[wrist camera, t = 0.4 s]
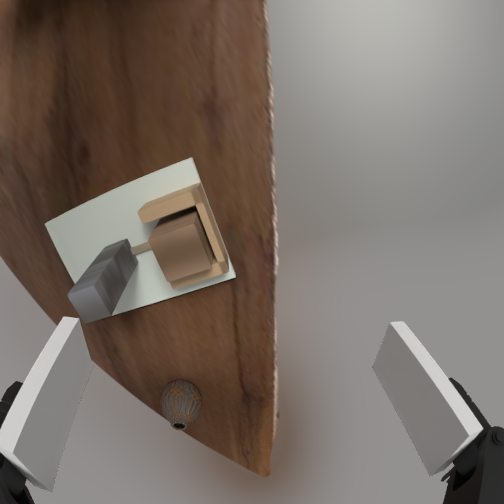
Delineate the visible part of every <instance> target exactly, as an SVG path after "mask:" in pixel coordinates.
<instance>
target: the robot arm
mask: <svg viewBox="0 0 504 504" xmlns="http://www.w3.org/2000/svg"><path fill="white" fill-rule="evenodd" d="M372 368H373V370H374V372H375V374H376V376H377V377H378V379H379V381H380V383H381V384H382V386H383V388H384V390H385V392H386V393H387V395H388V397H389V399H390V401H391V403H392V404H393V406H394V408H395V410H396V412H397V414H398V416H399V417H400V419H401V421H402V423H403V425H404V427H405V429H406V431H407V433H408V434H409V436H410V438H411V440H412V442H413V444H414V446H415V448H416V450H417V452H418V454H419V456H420V458H421V460H422V462H423V463H424V466H425V468H426V470H427V472H428V474H429V476H432V475H434V474H436V473H438V472H440V471H443V470H444V469H445V468H447V467H448V466H449V465H450V463H452V462H453V464H454V465H455V466H454V467H453V468H452V469H451V470H450V471H449V472H448V473H447V474H446V475H445V476H443V478H442V480H441V481H444V480H445V479H446V478H448V477H449V476H450V478H449V479H448V480H447V483H448V486H447V490H446V494H445V498H444V502H443V504H504V429H503V428H501V427H496V426H495V427H491V426H490V425H489V423H488V422H487V421H486V419H485V418H484V416H483V415H482V413H481V412H480V411H479V409H478V408H477V406H476V405H475V404H474V402H472V400H471V398H470V397H469V395H467V393H466V391H465V390H464V389H463V387H462V386H461V385H460V384H459V383H458V382H456V381H455V380H454V379H452V378H447V376H446V375H445V374H444V373H443V371H442V370H441V369H440V367H439V366H438V365H437V363H436V362H435V361H434V359H433V358H432V357H431V356H430V354H429V353H428V352H427V350H426V349H425V348H424V347H423V345H422V344H421V343H420V342H419V340H418V339H417V338H416V336H415V335H414V334H413V333H412V332H411V330H410V329H409V328H408V327H407V325H406V324H405V323H404V322H403V321H401V322H390V323H389V326H388V329H387V331H386V334H385V337H384V339H383V342H382V344H381V347H380V349H379V352H378V355H377V357H376V359H375V362H374V364H373V366H372ZM92 369H93V364H92V361H91V358H90V355H89V352H88V348H87V345H86V342H85V338H84V335H83V331H82V327H81V324H80V320H79V318H72V317H63V318H62V320H61V321H60V323H59V325H58V326H57V328H56V329H55V331H54V332H53V334H52V336H51V337H50V339H49V340H48V342H47V343H46V345H45V347H44V349H43V350H42V352H41V353H40V355H39V357H38V358H37V360H36V362H35V364H34V365H33V367H32V369H31V371H30V372H29V374H28V376H27V378H26V379H25V381H24V383H21V382H18V381H16V382H15V383H13V384H12V385H11V386H10V387H9V388H8V389H7V390H6V392H5V394H4V396H3V398H2V401H1V402H0V504H35V503H34V501H33V499H32V497H31V495H30V493H29V490H28V489H27V487H26V486H25V482H26V479H28V480H29V481H30V482H31V483H32V484H33V485H34V486H36V487H39V488H42V489H44V490H47V491H50V492H52V490H53V487H54V483H55V479H56V475H57V472H58V468H59V465H60V461H61V458H62V454H63V451H64V448H65V444H66V441H67V438H68V435H69V432H70V429H71V426H72V423H73V420H74V417H75V414H76V412H77V409H78V406H79V403H80V401H81V398H82V395H83V392H84V390H85V387H86V385H87V382H88V380H89V377H90V375H91V372H92Z"/></svg>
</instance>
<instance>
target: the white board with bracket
mask: <svg viewBox="0 0 504 504" xmlns="http://www.w3.org/2000/svg"><path fill="white" fill-rule="evenodd" d="M194 206H196V207H197V210H198V213H199V215H200V218H201V220H202V223H203V226H204V228H205V231H206V233H207V236H208V238H209V241H210V244H211V246H212V249H213V253H212V268H210V269H207V270H204V271H201V272H198V273H194V274H191V275H188V276H185V277H182V278H179V279H176V280H173V281H170V282H167V280H166V278H165V276H164V274H163V272H162V270H161V268H160V266H159V264H158V262H157V259H156V257H155V255H154V253H153V251H152V249H148V250H145V251H142V252H140V253H137V254H135V256H136V258H137V260H138V264H137V266H136V268H135V270H134V272H133V274H132V276H131V278H130V280H129V281H128V283H127V285H126V287H125V289H124V291H123V293H122V295H121V297H120V299H119V301H118V304H117V306H116V308H115V310H114V312H113V314H112V315H116V314H119V313H122V312H126V311H129V310H132V309H136V308H139V307H142V306H146V305H149V304H152V303H155V302H159V301H162V300H165V299H168V298H172V297H175V296H178V295H181V294H184V293H188V292H191V291H194V290H197V289H200V288H204V287H207V286H210V285H213V284H216V283H219V282H222V281H226V280H229V279H232V278H235V277H236V275H235V271H234V269H233V266H232V264H231V261H230V258H229V256H228V253H227V250H226V248H225V245H224V242H223V240H222V237H221V234H220V232H219V229H218V226H217V224H216V221H215V218H214V216H213V213H212V210H211V207H210V205H209V202H208V199H207V196H206V194H205V191H204V188H203V185H202V183H201V180H200V177H199V174H198V172H197V169H196V166H195V163H194V160H193V158H192V157H191V158H189V159H186V160H183V161H181V162H178V163H175V164H173V165H170V166H168V167H165V168H163V169H160V170H158V171H155V172H153V173H150V174H148V175H145V176H143V177H141V178H138V179H136V180H133V181H131V182H129V183H127V184H124V185H122V186H120V187H117V188H115V189H113V190H111V191H109V192H106V193H104V194H102V195H100V196H98V197H96V198H94V199H92V200H89V201H87V202H85V203H83V204H81V205H79V206H77V207H75V208H73V209H71V210H69V211H67V212H65V213H63V214H62V215H60V216H58V217H56V218H54V219H52V220H50V221H48V222H47V223H45V226H46V228H47V230H48V232H49V234H50V237H51V239H52V241H53V243H54V245H55V247H56V249H57V251H58V253H59V255H60V257H61V259H62V261H63V263H64V265H65V267H66V268H67V270H68V272H69V274H70V276H71V278H72V280H73V281H74V283H75V284H76V282H77V281H78V280H79V278H80V277H81V276H82V275H83V273H84V272H85V271H86V269H87V268H88V267H89V266H90V264H91V263H92V262H93V261H94V260H95V258H96V257H97V256H98V255H99V253H100V252H101V251H102V250H103V249H104V247H106V246H108V245H111V244H113V243H116V242H118V241H121V240H124V239H126V238H127V239H128V241H129V243H130V245H131V247H134V246H137V245H140V244H142V243H145V242H148V238H149V237H150V235H151V233H152V232H153V230H154V228H155V227H156V225H157V223H158V222H159V220H160V219H162V218H164V217H167V216H170V215H172V214H175V213H178V212H180V211H183V210H186V209H189V208H191V207H194Z"/></svg>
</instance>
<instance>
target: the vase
mask: <svg viewBox="0 0 504 504" xmlns="http://www.w3.org/2000/svg"><path fill="white" fill-rule="evenodd" d="M160 405H161V410H162V412H163V414H164V416H165V417H166V418H167V420H168V421H169V422H170V423H171V426H172V427H173V428H174V429H176V430H185V429H186V428H187V427H188V425H189V424H190V423H192V422H193V421H194V420H195V419H196V418H197V417H198V415H199V413H200V411H201V407H202V400H201V395H200V392H199V390H198V389H197V387H196V386H195V385H193V384H192V383H190V382H189V381H186V380H175V381H172V382H170V383H169V384H167V385H166V387H165V388H164V389H163V391H162V394H161V399H160Z"/></svg>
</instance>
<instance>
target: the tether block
mask: <svg viewBox="0 0 504 504" xmlns="http://www.w3.org/2000/svg"><path fill="white" fill-rule="evenodd" d="M148 249H152V251H153V253H154V255H155V257H156V259H157V262H158V264H159V266H160V268H161V270H162V272H163V274H164V276H165V278H166V280H167V282H170V281H173V280H176V279H179V278H182V277H185V276H188V275H191V274H194V273H198V272H201V271H204V270H207V269H210V268H212V253H213V249H212V246H211V244H210V241H209V238H208V236H207V233H206V231H205V228H204V226H203V223H202V220H201V218H200V215H199V213H198V210H197V207H196V206H194V207H191V208H189V209H186V210H183V211H180V212H178V213H175V214H172V215H170V216H167V217H164V218H162V219H160V220H159V222H158V223H157V225H156V227H155V228H154V230H153V232H152V233H151V235H150V237H149V238H148V242H145V243H142V244H140V245H137V246H134V247H131V245H130V243H129V241H128V239H127V238H126V239H124V240H121V241H118V242H116V243H113V244H111V245H108V246H106V247H104V249H103V250H102V251H101V252H100V253H99V255H98V256H97V257H96V258H95V260H94V261H93V262H92V263H91V264H90V266H89V267H88V268H87V269H86V271H85V272H84V273H83V275H82V276H81V277H80V278H79V280H78V281H77V282H76V284H75V285H74V286H73V288H72V289H71V290H70V292H69V293H68V294H67V296H68V298H69V299H70V301H71V303H72V304H73V306H74V308H75V309H76V311H77V312H78V314H79V316H80V317H81V319H82V320H83V322H84V323H85V324H86V323H89V322H93V321H96V320H99V319H103V318H106V317H110V316H112V314H113V312H114V310H115V308H116V306H117V304H118V301H119V299H120V297H121V295H122V293H123V291H124V289H125V287H126V285H127V283H128V281H129V280H130V278H131V276H132V274H133V272H134V270H135V268H136V266H137V264H138V260H137V258H136V256H135V254H137V253H140V252H142V251H145V250H148Z"/></svg>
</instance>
